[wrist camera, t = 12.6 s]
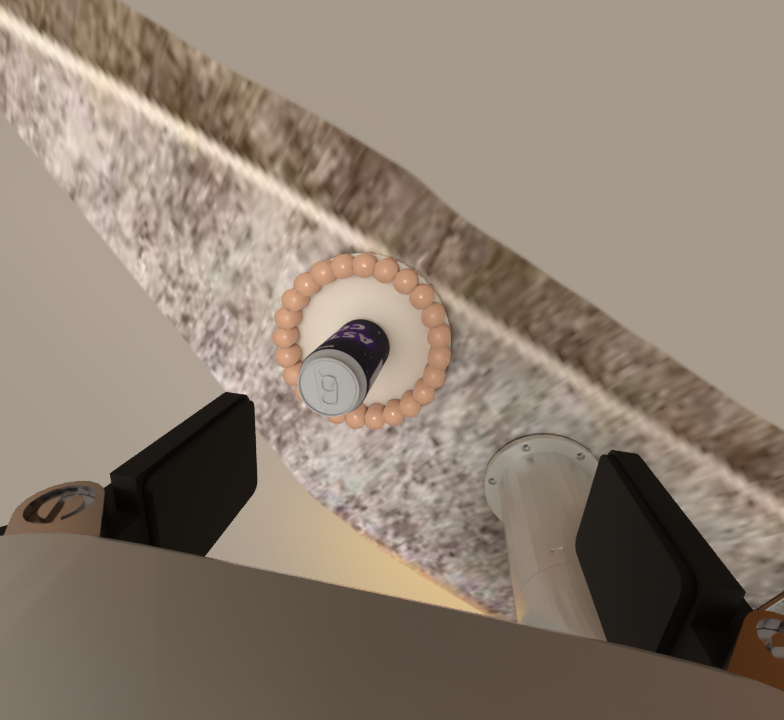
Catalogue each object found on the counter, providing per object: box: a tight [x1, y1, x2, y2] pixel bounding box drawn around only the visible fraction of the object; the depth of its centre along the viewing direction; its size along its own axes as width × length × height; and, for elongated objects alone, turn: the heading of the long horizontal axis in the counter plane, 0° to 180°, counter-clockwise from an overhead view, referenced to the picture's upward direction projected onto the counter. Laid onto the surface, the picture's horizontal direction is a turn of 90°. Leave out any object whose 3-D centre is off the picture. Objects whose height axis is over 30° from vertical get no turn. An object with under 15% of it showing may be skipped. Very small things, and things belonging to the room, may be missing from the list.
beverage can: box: [298, 319, 390, 417], centre depth 35 cm, size 6×6×12 cm
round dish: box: [272, 252, 451, 430], centre depth 41 cm, size 18×18×3 cm
